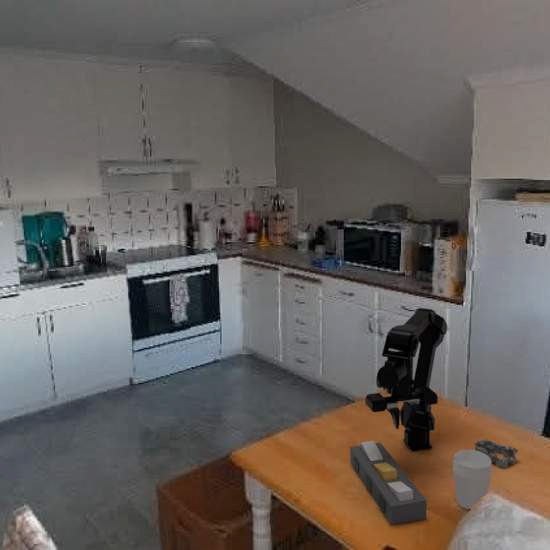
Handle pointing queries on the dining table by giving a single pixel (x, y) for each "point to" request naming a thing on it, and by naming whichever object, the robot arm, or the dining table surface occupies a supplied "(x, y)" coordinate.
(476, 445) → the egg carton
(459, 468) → the cup
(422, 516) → the rocker switch panel
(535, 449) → the dining table surface
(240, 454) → the dining table surface
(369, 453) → the rocker
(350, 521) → the dining table surface
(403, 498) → the rocker
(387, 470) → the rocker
